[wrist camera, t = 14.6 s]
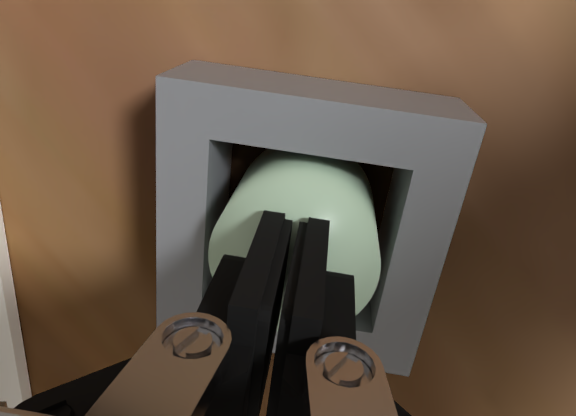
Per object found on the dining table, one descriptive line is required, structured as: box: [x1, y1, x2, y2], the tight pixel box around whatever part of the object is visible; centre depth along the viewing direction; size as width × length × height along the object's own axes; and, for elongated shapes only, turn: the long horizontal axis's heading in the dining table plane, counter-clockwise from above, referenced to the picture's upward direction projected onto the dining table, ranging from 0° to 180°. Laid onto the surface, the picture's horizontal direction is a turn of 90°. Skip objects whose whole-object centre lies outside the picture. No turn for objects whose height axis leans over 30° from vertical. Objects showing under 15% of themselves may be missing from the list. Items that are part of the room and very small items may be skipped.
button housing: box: [156, 60, 487, 377], centre depth 14 cm, size 8×8×3 cm
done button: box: [208, 148, 381, 332], centre depth 14 cm, size 4×4×4 cm
